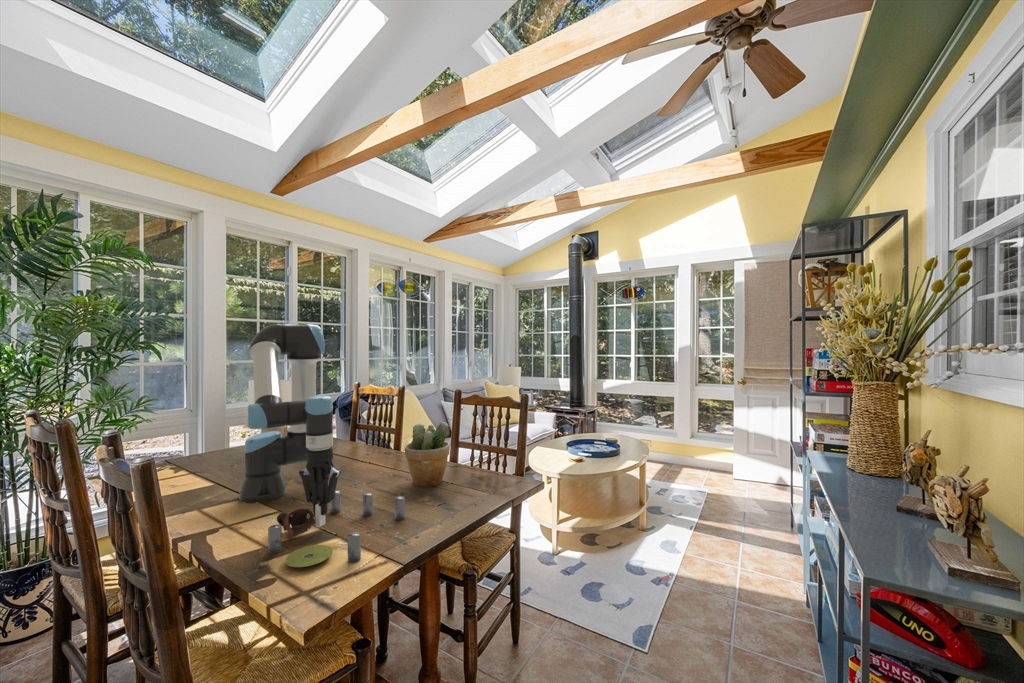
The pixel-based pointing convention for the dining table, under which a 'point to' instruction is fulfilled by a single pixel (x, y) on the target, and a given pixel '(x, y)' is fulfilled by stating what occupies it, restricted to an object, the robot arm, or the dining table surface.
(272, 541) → the posts
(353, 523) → the dining table surface
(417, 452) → the potted plant
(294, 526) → the pottery mug
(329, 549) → the green disc
